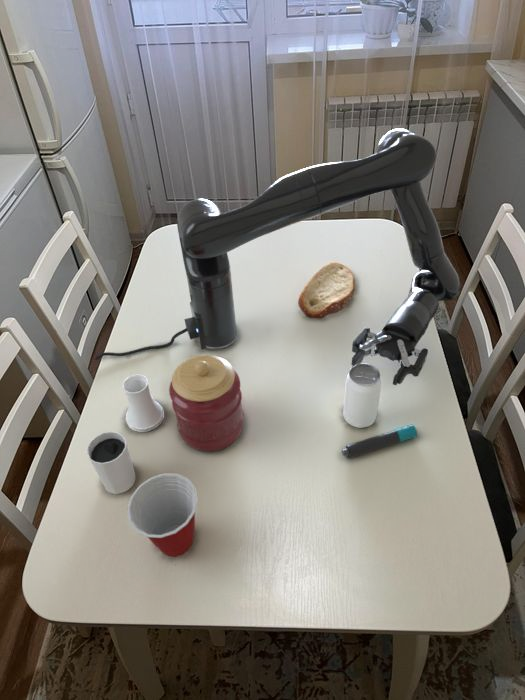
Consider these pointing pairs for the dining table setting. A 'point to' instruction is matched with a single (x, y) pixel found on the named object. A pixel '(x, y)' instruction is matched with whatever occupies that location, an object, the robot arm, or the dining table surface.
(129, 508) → the plastic cup
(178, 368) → the kitchen canister
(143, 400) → the vase
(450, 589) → the dining table surface
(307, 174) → the robot arm
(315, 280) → the bread slice
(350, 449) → the marker
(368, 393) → the can
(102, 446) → the white coffee cup
